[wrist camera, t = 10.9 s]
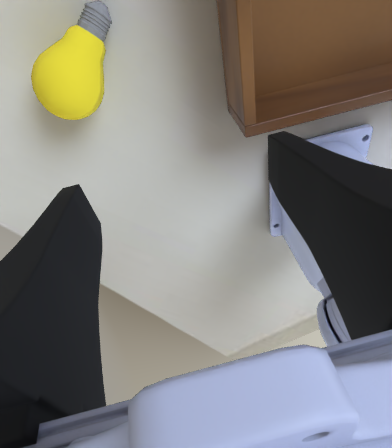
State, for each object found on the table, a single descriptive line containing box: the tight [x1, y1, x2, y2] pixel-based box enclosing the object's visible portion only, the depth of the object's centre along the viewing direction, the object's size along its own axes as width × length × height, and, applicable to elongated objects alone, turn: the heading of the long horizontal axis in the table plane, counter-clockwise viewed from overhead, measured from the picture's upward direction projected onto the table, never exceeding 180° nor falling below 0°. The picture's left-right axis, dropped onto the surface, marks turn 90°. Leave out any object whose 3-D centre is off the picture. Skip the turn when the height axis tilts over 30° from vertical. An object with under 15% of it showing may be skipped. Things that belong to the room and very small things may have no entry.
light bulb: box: [31, 0, 112, 120], centre depth 16 cm, size 3×6×4 cm, turn 145°
